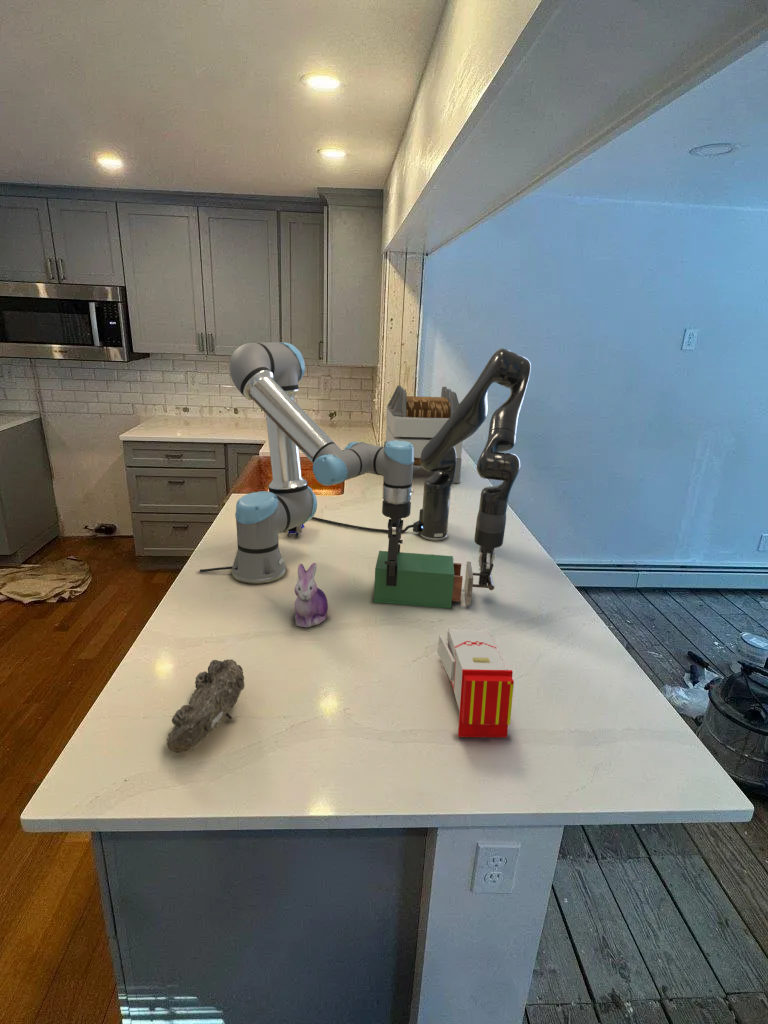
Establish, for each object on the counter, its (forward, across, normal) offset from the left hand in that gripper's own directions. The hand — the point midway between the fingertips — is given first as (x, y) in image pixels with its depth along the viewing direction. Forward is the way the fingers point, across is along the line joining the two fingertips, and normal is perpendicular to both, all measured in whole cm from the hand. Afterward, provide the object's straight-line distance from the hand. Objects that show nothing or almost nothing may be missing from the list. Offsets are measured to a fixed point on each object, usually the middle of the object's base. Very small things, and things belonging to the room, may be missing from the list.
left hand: (392, 575), depth 156 cm
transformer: (+6, +125, -5) cm, 125 cm away
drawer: (+5, 0, -15) cm, 15 cm away
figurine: (+6, -17, +19) cm, 26 cm away
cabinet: (+6, 0, -6) cm, 8 cm away
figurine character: (+6, +40, +37) cm, 54 cm away
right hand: (+1, 0, -25) cm, 25 cm away
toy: (+6, -41, -19) cm, 45 cm away
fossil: (+6, -55, +30) cm, 63 cm away
